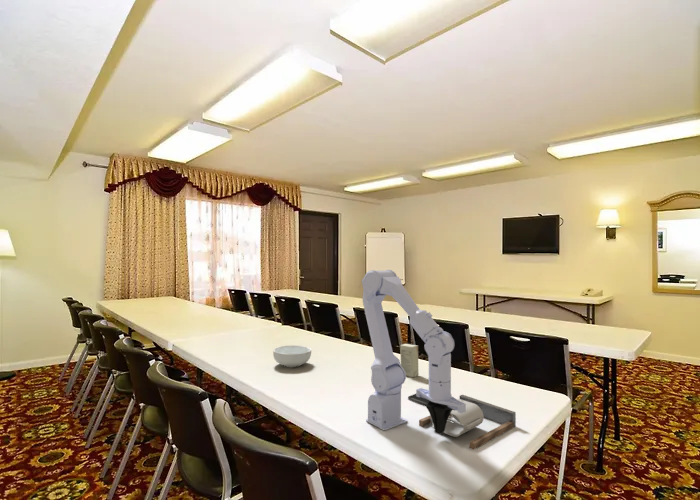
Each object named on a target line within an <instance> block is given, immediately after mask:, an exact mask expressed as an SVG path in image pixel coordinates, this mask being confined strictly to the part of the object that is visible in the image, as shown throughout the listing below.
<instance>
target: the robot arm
mask: <svg viewBox="0 0 700 500" xmlns="http://www.w3.org/2000/svg"><path fill="white" fill-rule="evenodd" d="M361 284H362V288H363V290H362V292H363V293H362V304H363V305H362V306H363V310H364V314H365V318H366V322H367V327H368V332H369V336H370V337H369V338H370V341H371V345H372V350H373V353H374V361H373V362H372V364H371V366H370V369H371V378H370V380H371V385H372V387H373V389H374V390H375V392H374V393H372V394H370V395H369V397H368V400H367V418H366V419H365V421H366V422H367V423H369V424H371V425H373V426H375V427H377V428H379V429H380V430H381V431H387V430H390V429H393V428H394V427H397V426H399V425H402V424H405V423H408V419H407V418H404V417H402V386H403V384H404V383H405V382H406V378H407V376H406V374H405V371H404V369H403V368H402V366H401V359H399V358H398V357H397V356H396V355H395V354H394V352H393V351H394V350H393V347H392V343H391V338H390V335H389V334H390V333H389V329H388V326H387V322H386V317H385V314H384V309H383V305H382V303H383V301H384V299H385V298H386V296H389V297H392V298H393V299H394V300H395V301H396V303H397V304H398V305H399V306H400V307H401V308H402V309H403V311H404V312H405V313H406V314H407V315H408V317H409V324H410V325H411V327H412V328H413V329H414V331H415V332H416V334H417V335H418V336H419V338H421V341H423V342H424V347H423V348H424V351H425V352H426V355H427V357H428V389H427V388H422V387H421V388H417V389H415V391H416V392H415V394H416V396H417V397H422V398H425V399H428V400H429V403H428V404H426V406H425V407H426V410H427V412H429V416H430V415H431V418H432V421H433V424H432V426H433V425H434V432H435V433H438V434H442V433H443V432H444V431H445V426H446V423H447V420H448V418H450V417H449V416H451V415H450V413H451V411H452V410H453V409H454V410H457V411H458V412H459V413H463V412H466V404H465V403H462V402H460V401H459V400H457V398H455V397H454V396H452V363H451V362H452V354H451V352H453V351H454V349H455V339H454V338H453V336H452V334H451V333H449V332H447V331H444V329H443V328H442V327H440V326H439V325H438V324H437V322H436V321H435V320H434V319H433V315H432V313H431V312H430V311H429V312H428V311H427V310H425V309H420V308H419V306H418V305H417V303H416V302H415V301H414V299H413V298H412V297H411V295H410V294H409V292H408V290H407V289H406V288H405V287H404V285H403V284H402V279H401V278H400V277H399V276H398V275H397V273H396V272H395V271H393V270H392V269H386V270H375V269H374V270H373V269H371V270H370V269H369V270H368V271H367V272H366V273H365V275H364V276H363V278H362V279H361ZM443 434H444V433H443Z"/></svg>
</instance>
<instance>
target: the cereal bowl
mask: <svg viewBox="0 0 700 500" xmlns="http://www.w3.org/2000/svg"><path fill="white" fill-rule="evenodd" d="M272 355H273V359H274V360H275V362H276V363H277V364H279V365H281V366H283V365H284V366H283V367H285V366H287V367H286V368H297V367H296V366H298V367H300V366H301V365H304V364H306V363H307V362H308V361H309V360H310V359H311V356H312V348H311V347H309V346H303V345H295V344H294V345H293V344H292V345H291V344H290V345H282V346H277V347H276V348H274V349H273V353H272ZM299 365H300V366H299Z"/></svg>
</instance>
